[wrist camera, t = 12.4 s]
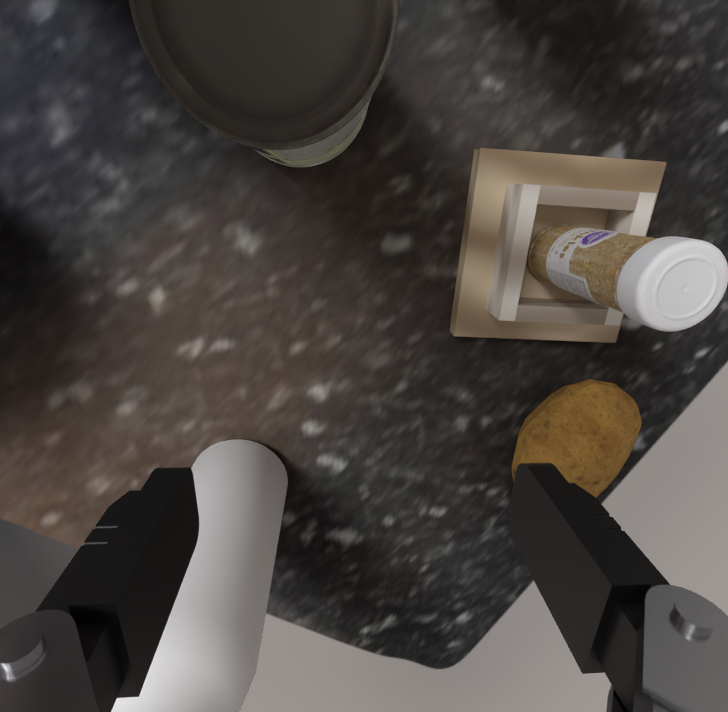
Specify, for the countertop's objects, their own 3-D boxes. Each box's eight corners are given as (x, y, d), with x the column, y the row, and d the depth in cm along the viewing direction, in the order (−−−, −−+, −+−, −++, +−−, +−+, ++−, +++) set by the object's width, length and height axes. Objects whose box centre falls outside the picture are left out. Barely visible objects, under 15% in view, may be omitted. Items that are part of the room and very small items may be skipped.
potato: (477, 461, 41) (504, 510, 35) (550, 348, 37) (595, 379, 31) (554, 491, 43) (593, 543, 37) (631, 386, 39) (689, 423, 33)
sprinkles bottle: (562, 210, 32) (710, 218, 19) (592, 256, 33) (749, 291, 21) (512, 251, 33) (622, 285, 20) (544, 295, 34) (666, 351, 21)
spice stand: (474, 150, 31) (495, 142, 27) (652, 163, 32) (699, 158, 28) (449, 330, 36) (464, 348, 32) (605, 337, 37) (639, 355, 33)
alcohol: (174, 473, 39) (-225, 1149, 11) (240, 416, 38) (-38, 1043, 10) (243, 527, 42) (58, 1182, 14) (308, 476, 40) (243, 1104, 12)
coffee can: (216, 153, 30) (124, 119, 17) (227, -22, 27) (122, -232, 14) (357, 182, 32) (371, 171, 18) (384, 18, 28) (427, -139, 15)
